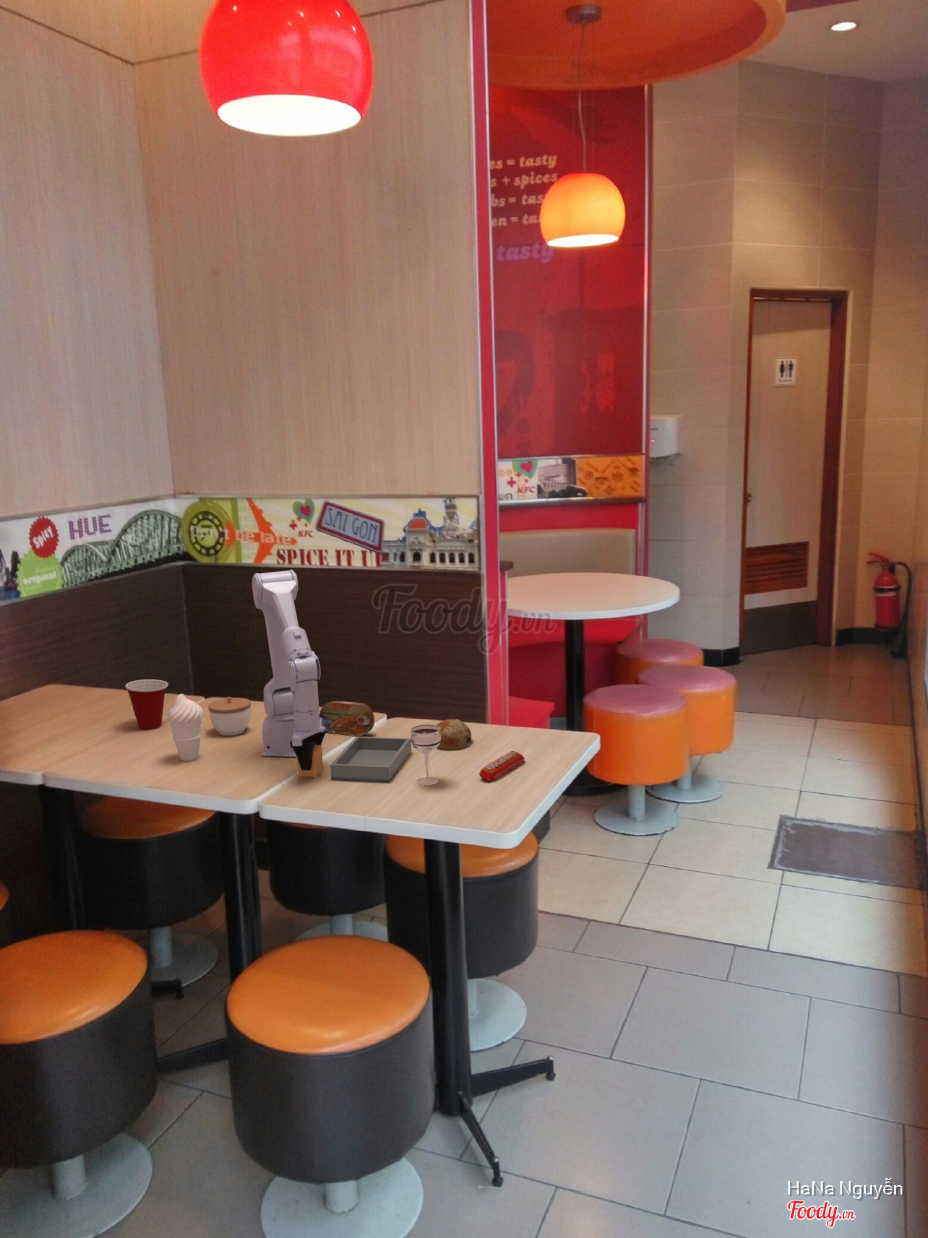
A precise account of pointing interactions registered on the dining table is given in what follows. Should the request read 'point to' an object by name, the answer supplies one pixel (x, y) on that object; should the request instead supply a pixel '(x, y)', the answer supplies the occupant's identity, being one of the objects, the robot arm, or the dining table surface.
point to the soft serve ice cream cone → (186, 727)
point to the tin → (347, 718)
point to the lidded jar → (230, 715)
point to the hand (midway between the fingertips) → (310, 765)
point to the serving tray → (371, 759)
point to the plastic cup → (147, 702)
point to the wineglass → (426, 746)
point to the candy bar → (501, 765)
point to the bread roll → (454, 734)
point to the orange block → (313, 763)
